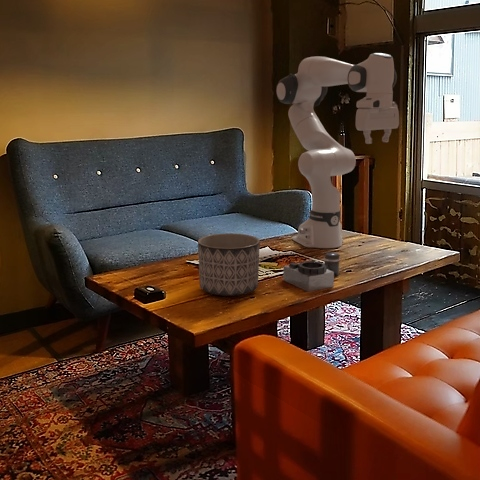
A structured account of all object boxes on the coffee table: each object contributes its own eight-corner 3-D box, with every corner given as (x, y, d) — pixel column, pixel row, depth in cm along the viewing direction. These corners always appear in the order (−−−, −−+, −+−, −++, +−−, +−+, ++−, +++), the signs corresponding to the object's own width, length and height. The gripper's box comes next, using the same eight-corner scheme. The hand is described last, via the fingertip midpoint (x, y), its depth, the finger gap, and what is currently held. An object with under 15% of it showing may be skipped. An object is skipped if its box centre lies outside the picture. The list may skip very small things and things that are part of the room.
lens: (320, 273, 215) (321, 253, 213) (332, 271, 218) (333, 251, 216) (330, 277, 211) (330, 256, 209) (341, 275, 214) (342, 254, 212)
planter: (211, 304, 185) (211, 251, 181) (190, 285, 202) (189, 236, 198) (269, 295, 193) (270, 244, 189) (244, 278, 210) (244, 231, 206)
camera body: (283, 280, 208) (283, 260, 206) (307, 275, 213) (307, 256, 211) (308, 291, 196) (309, 271, 195) (333, 286, 201) (334, 266, 200)
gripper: (389, 101, 222) (387, 140, 225) (353, 102, 209) (351, 143, 212) (404, 101, 217) (402, 141, 221) (368, 102, 204) (366, 145, 208)
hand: (376, 142), depth 216 cm, fingers open, 8 cm apart
